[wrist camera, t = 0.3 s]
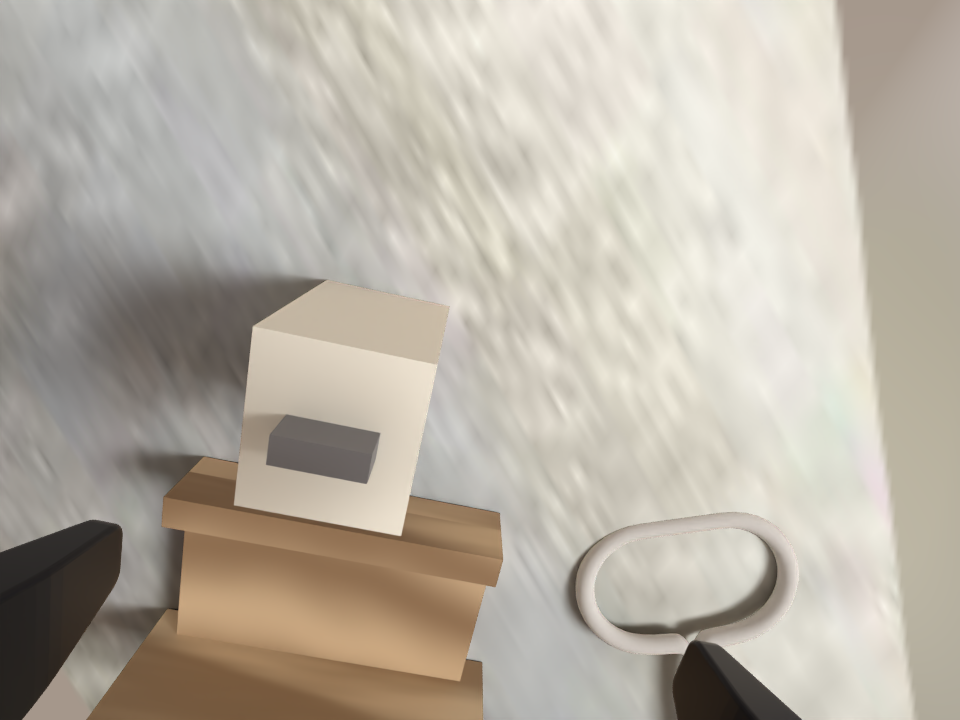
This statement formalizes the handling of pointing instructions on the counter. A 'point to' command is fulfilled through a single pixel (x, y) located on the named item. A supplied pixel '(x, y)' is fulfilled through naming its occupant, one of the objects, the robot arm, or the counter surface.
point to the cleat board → (312, 614)
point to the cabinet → (338, 406)
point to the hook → (718, 635)
